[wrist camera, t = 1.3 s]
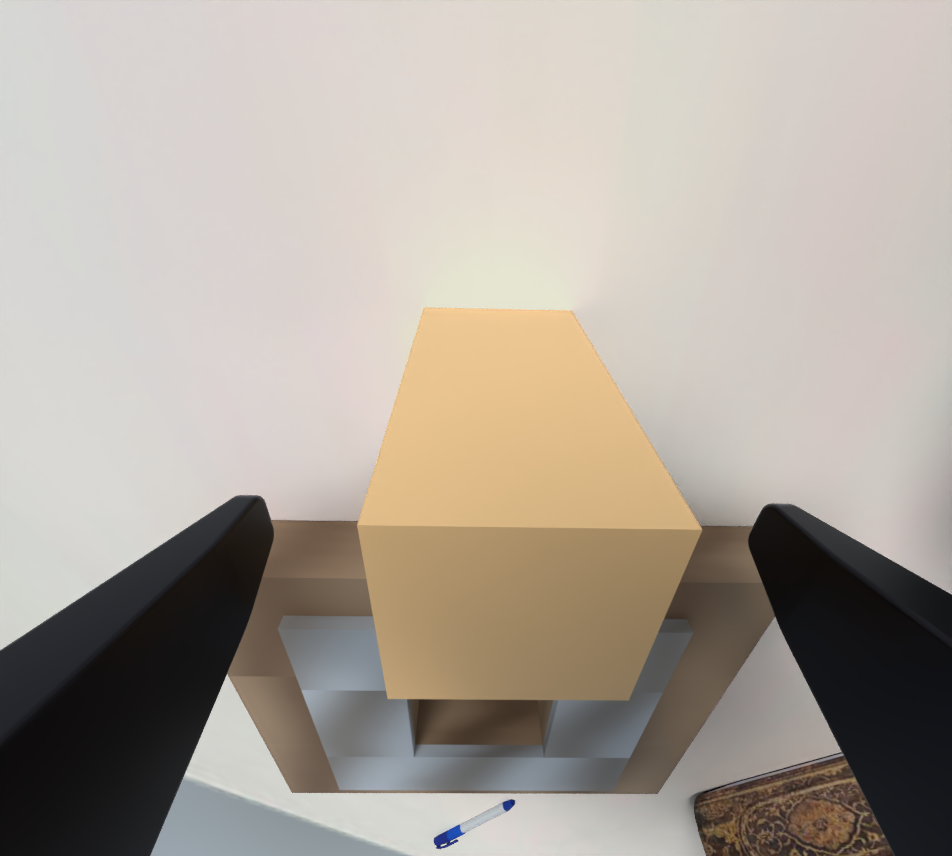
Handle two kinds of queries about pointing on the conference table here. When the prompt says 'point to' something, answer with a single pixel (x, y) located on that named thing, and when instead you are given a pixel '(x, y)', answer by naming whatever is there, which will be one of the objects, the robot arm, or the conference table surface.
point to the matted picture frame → (476, 721)
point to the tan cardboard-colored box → (517, 518)
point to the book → (791, 814)
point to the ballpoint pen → (472, 824)
